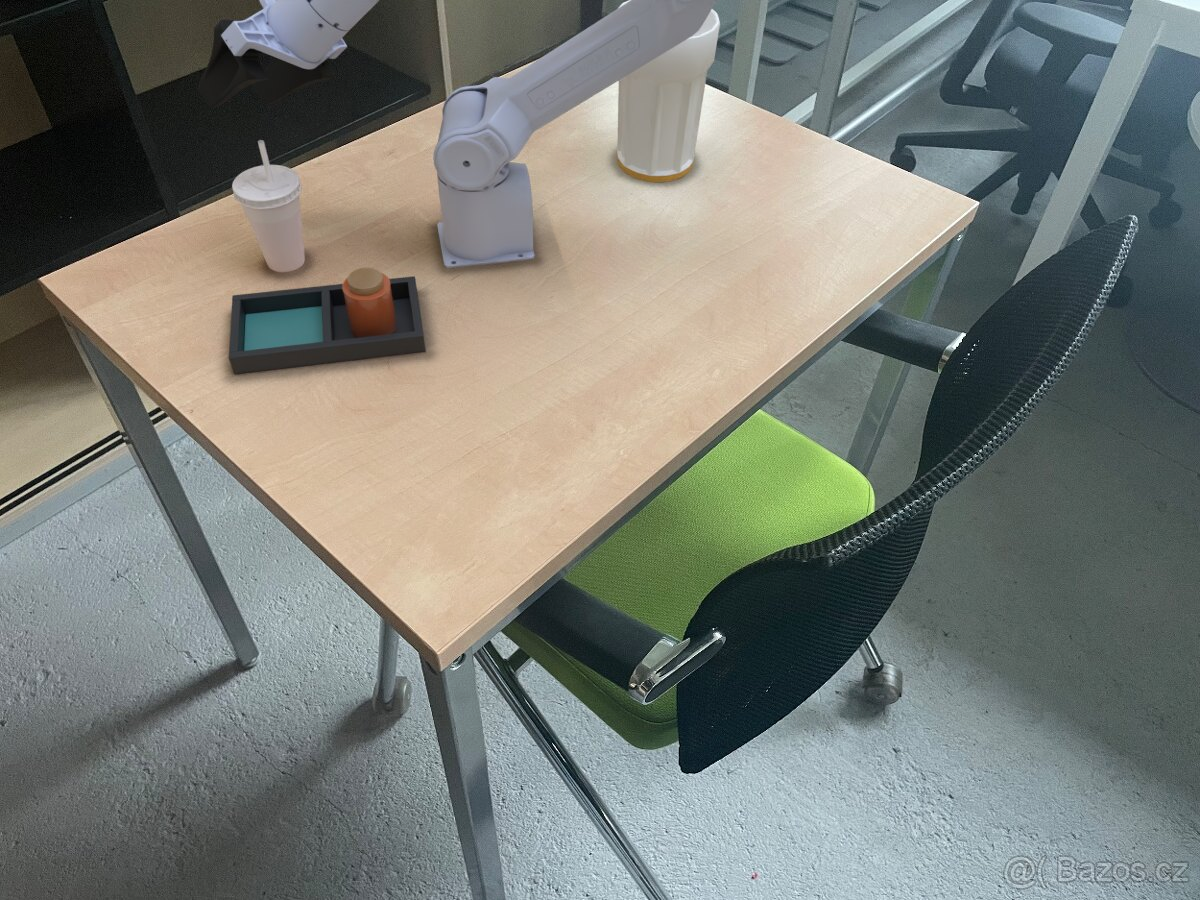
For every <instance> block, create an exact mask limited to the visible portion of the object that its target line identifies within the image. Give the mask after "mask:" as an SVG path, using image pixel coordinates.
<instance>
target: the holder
mask: <svg viewBox="0 0 1200 900" xmlns="http://www.w3.org/2000/svg"><path fill="white" fill-rule="evenodd" d="M389 280H390V283H391V290H392V296H393V302H394V308H395V315H396V321H397V327H396V330H395V331H394V332H393V333H392V334H386V335H377V336H369V337H360V338H357V337H356V336H354V335H353V333H352V332H351V328H350V323H349V318H348V313H347V309H346V304H345V299H344V294H343V289H342V285H343V283H335V284H328V285H319V286H318V285H317V286H309V287H299V288H298V287H297V288H289V289H288V288H287V289H281V290H279V289H278V290H270V291H260V292H251V293H242V294H241V293H240V294H232V297H231V316H230V330H229V348H228V349H229V350H228V360H229V363H230V367H231V369H232V373H233V375H244V374H251V373H252V374H253V373H261V372H269V371H277V370H286V369H287V370H288V369H294V368H295V369H296V368H302V367H311V366H319V365H320V366H321V365H328V364H336V363H338V364H339V363H345V362H355V361H362V360H370V359H378V358H388V357H396V356H404V355H411V354H420V353H426V352H427V350H426V343H425V336H424V329H423V323H422V322H423V321H422V315H421V309H420V308H421V307H420V301H419V295H418V288H417V281H416V276H414V275H413V276H403V277H394V278H389Z"/></svg>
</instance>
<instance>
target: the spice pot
mask: <svg viewBox="0 0 1200 900" xmlns="http://www.w3.org/2000/svg"><path fill="white" fill-rule="evenodd" d="M389 279H390V277H388V276H387V275H386V274H384V273H383V272H381V271H380V270H379V269H377V268H374V267H361V268H357V269H355V270H353V271H351V272H350V273H349V275H348V276H347V277H346V278H345V279H344V281H343V283H342V284H343V285H342V289H343V294H344V299H345V304H346V309H347V313H348V318H349V323H350V328H351V332H352V333H353V335H354V336H356V337H357V338H360V337H369V336H377V335H386V334H392V333H393V332H394V331H395V330H396V327H397V321H396V315H395V308H394V302H393V296H392V290H391V283H390V280H389Z"/></svg>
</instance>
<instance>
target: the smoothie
mask: <svg viewBox="0 0 1200 900" xmlns="http://www.w3.org/2000/svg"><path fill="white" fill-rule="evenodd" d="M257 143H258V149H259V152H260V156H261V161H262V164H263V165H258V166H253V167H251V168H248V169H246V170H243V171H242V172H240V173H239V174H238V175H237V176H236V177H235V178H234V180H233V181H232V185H231V189H232V192H233V197H234V200H235V201H236V202H237V203H238V204H239V205H240V206H241V208H242V211H243V213H244V216H245V217H246V219H247V222H248V224H249V226H250V228H251V230H252V233H253V235H254V237H255V239H256V242H257V244H258V246H259V249H260V251H261V253H262V255H263V258H264V260H265V262H266V265H267V267H268V268H269V269H270V270H271V271H274V272H277V273H289V272H293V271H296V270H298V269H300V268H301V267H303V265H304V264H305V261H306V257H305V255H306V254H305V245H304V244H305V243H304V234H303V223H302V210H301V198H300V197H301V196H300V194H301V192H302V188H303V187H302V186H303V185H302V183H301V180H300V176H299V174H298V173H297V172H296V170H294V169H292V168H291V167H287V166H284V165H279V164H271V163H270V160H269V156H268V152H267V148H266V143H265V140H262V139H259V140H258V141H257Z"/></svg>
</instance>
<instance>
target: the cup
mask: <svg viewBox="0 0 1200 900" xmlns="http://www.w3.org/2000/svg"><path fill="white" fill-rule="evenodd" d="M629 1H631V0H627V1H624V2H622V3H621V4H620V5H619V6H618V8H620V7H621V6H623V5H624V4H626V3H628V2H629ZM720 27H721V22H720V17H719V14H718V12H716V11H715V10H714V9H713V8H712V9H711V11H710V13H709V15H708V16H707V18H706V20H705V21H704V23H703V25H702V26H701V28H700V29H699V31H698V32H696V33H695V34H694V35H693V36H692V37H690V38H688V39H687V40H685V41H683V42H682V43H680V44H678V45H677V46H675V47H673V48H672V49H670V50H668V51H667V52H665V53H663V54H662V55H660V56H658V57H657V58H655V59H653V60H652V61H650V62H649V63H647V64H645V65H644V66H642V67H640V68H639V69H637V70H635V71H634V72H632V73H630V74H629V75H627V76H625V77H624V78H622V79H620V80H619V81H618V93H617V94H618V96H617V99H618V102H617V107H618V108H617V155H616V158H617V165H618V167H619V169H621V171H623V173H625V174H626V175H628V176H630V177H633V178H634V179H637V180H641V181H644V182H648V183H666V182H671V181H675V180H679V179H681V178H682V177H684V176H686V175H687V174H689V173H690V171H691V169H692V168H693V166H694V160H695V159H694V158H695V155H696V154H695V153H696V147H697V140H698V134H699V127H700V121H701V115H702V108H703V102H704V94H705V90H706V89H705V88H706V82H707V76H708V71H709V69H710V68H711V66H712V65H713V63H714V62H715V58H716V50H717V44H718V38H719V33H720Z"/></svg>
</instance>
